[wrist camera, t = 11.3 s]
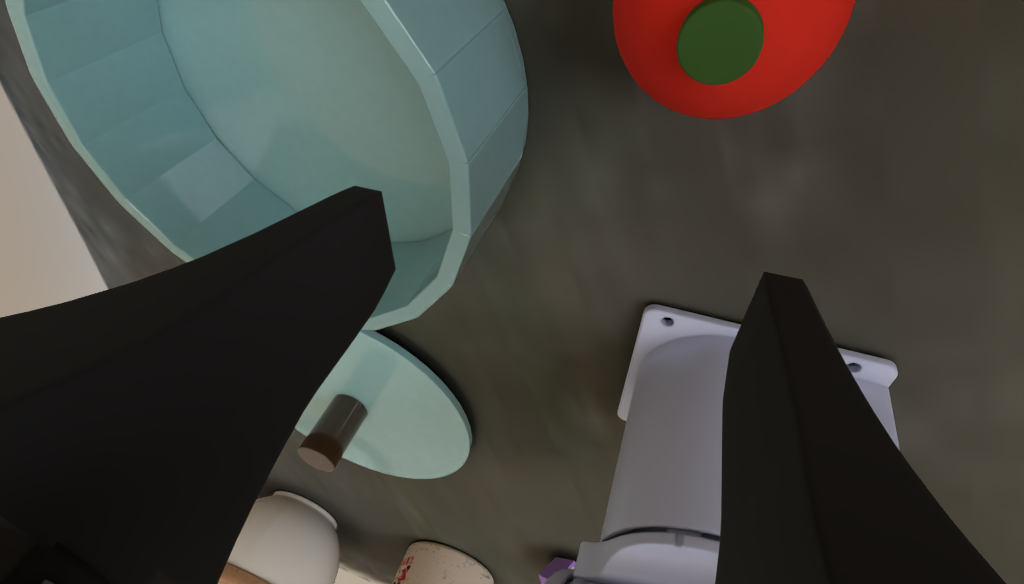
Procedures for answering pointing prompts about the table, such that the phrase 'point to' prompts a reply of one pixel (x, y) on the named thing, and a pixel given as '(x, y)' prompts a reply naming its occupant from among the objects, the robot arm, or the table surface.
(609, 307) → the table surface
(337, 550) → the lidded bowl
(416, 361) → the pan lid
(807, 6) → the tomato
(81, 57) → the pan
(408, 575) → the teacup with lid
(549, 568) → the figurine
